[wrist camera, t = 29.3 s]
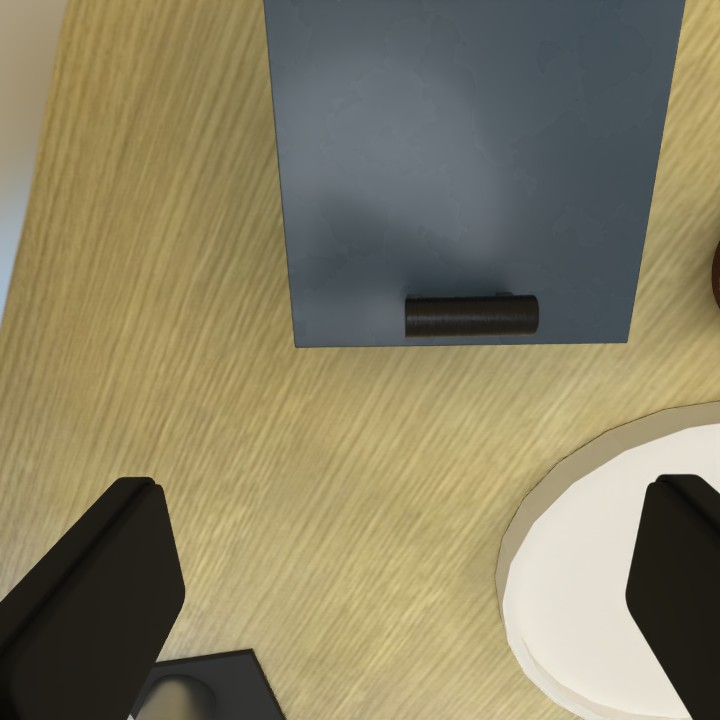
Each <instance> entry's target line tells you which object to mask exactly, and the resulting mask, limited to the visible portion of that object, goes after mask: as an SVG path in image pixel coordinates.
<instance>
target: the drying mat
mask: <svg viewBox="0 0 720 720" xmlns="http://www.w3.org/2000/svg"><path fill="white" fill-rule="evenodd" d="M169 675H183V676H188V677H191V678H194V679H196V680H198V681H200V682H202V683H203V684H205V685H206V686H207V687H208V688H209V689H210V690H211V691H212V693H213V694H214V697H215V700H216V708H215V711H214V713H213V716H212V719H211V720H285V717H284V715H283V713H282V711H281V709H280V707H279V705H278V703H277V701H276V699H275V697H274V694H273V692H272V690H271V688H270V686H269V684H268V682H267V680H266V678H265V676H264V674H263V671H262V669H261V667H260V665H259V663H258V661H257V659H256V657H255V655H254V653H253V651H252V649H249V650H242V651H235V652H228V653H221V654H214V655H207V656H201V657H194V658H187V659H180V660H173V661H166V662H159V663H155V664H154V666H153V668H152V670H151V672H150V674H149V676H148V678H147V680H146V682H145V684H144V686H143V688H142V690H141V692H140V694H139V696H138V698H137V700H136V702H135V704H134V706H133V708H132V710H131V712H130V714H131V716H132V717H133V719H134V720H136V718H137V716H138V714H139V712H140V710H141V708H142V705H143V703H144V701H145V699H146V697H147V695H148V693H149V691H150V689H151V687H152V685H153V684H154V683H155V682H156V681H157V680H158V679H160V678H162V677H165V676H169Z"/></svg>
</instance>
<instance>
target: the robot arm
mask: <svg viewBox="0 0 720 720" xmlns="http://www.w3.org/2000/svg"><path fill="white" fill-rule="evenodd" d="M184 599H185V585H184V580H183V576H182V572H181V567H180V563H179V558H178V554H177V549H176V545H175V540H174V536H173V531H172V527H171V522H170V518H169V513H168V509H167V504H166V500H165V495H164V491H163V488H162V487H161V485H158V484H155V481H154V480H153V479H152V478H150V477H122V478H119V479H117V480H116V481H115V482H114V483H113V484H112V485H111V486H110V487H109V488H108V489H107V490H106V491H105V492H104V493H103V495H102V496H101V497H100V498H99V499H98V500H97V501H96V502H95V503H94V504H93V505H92V506H91V507H90V508H89V509H88V510H87V511H86V512H85V513H84V515H83V516H82V517H81V518H80V519H79V520H78V521H77V522H76V523H75V524H74V525H73V526H72V527H71V528H70V529H69V530H68V531H67V532H66V534H65V535H64V536H63V537H62V538H61V539H60V540H59V541H58V542H57V543H56V544H55V545H54V546H53V547H52V548H51V549H50V550H49V551H48V553H47V554H46V555H45V556H44V557H43V558H42V559H41V560H40V561H39V562H38V563H37V564H36V565H35V566H34V567H33V568H32V569H31V570H30V572H29V573H28V574H27V575H26V576H25V577H24V578H23V579H22V580H21V581H20V582H19V583H18V584H17V585H16V586H15V587H14V588H13V589H12V591H11V592H10V593H9V594H8V595H7V596H6V597H5V598H4V599H3V600H2V601H1V602H0V720H127V718H128V716H129V714H130V712H131V710H132V708H133V706H134V704H135V702H136V700H137V698H138V696H139V694H140V692H141V690H142V688H143V686H144V684H145V682H146V680H147V678H148V676H149V674H150V672H151V670H152V668H153V666H154V664H155V662H156V660H157V658H158V656H159V653H160V651H161V649H162V647H163V645H164V643H165V641H166V639H167V637H168V635H169V633H170V631H171V629H172V627H173V625H174V623H175V621H176V619H177V617H178V615H179V613H180V611H181V609H182V606H183V603H184ZM625 599H626V604H627V607H628V610H629V612H630V614H631V616H632V618H633V620H634V621H635V623H636V625H637V626H638V628H639V630H640V631H641V633H642V635H643V636H644V638H645V640H646V642H647V643H648V645H649V647H650V648H651V650H652V652H653V653H654V655H655V657H656V658H657V660H658V662H659V664H660V665H661V667H662V669H663V670H664V672H665V674H666V675H667V677H668V679H669V680H670V682H671V684H672V685H673V687H674V689H675V691H676V692H677V694H678V696H679V697H680V699H681V701H682V702H683V704H684V706H685V707H686V709H687V711H688V713H689V714H690V716H691V718H692V719H693V720H720V493H719V492H718V491H717V490H715V489H714V488H713V487H712V486H711V485H710V484H709V483H707V482H706V481H705V480H704V479H703V478H701V477H700V476H698V475H695V474H662V475H659V476H658V477H657V479H656V481H655V482H652V483H650V484H649V485H648V486H647V489H646V494H645V498H644V503H643V508H642V513H641V518H640V523H639V528H638V532H637V537H636V542H635V547H634V552H633V557H632V561H631V566H630V571H629V576H628V581H627V586H626V591H625Z"/></svg>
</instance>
